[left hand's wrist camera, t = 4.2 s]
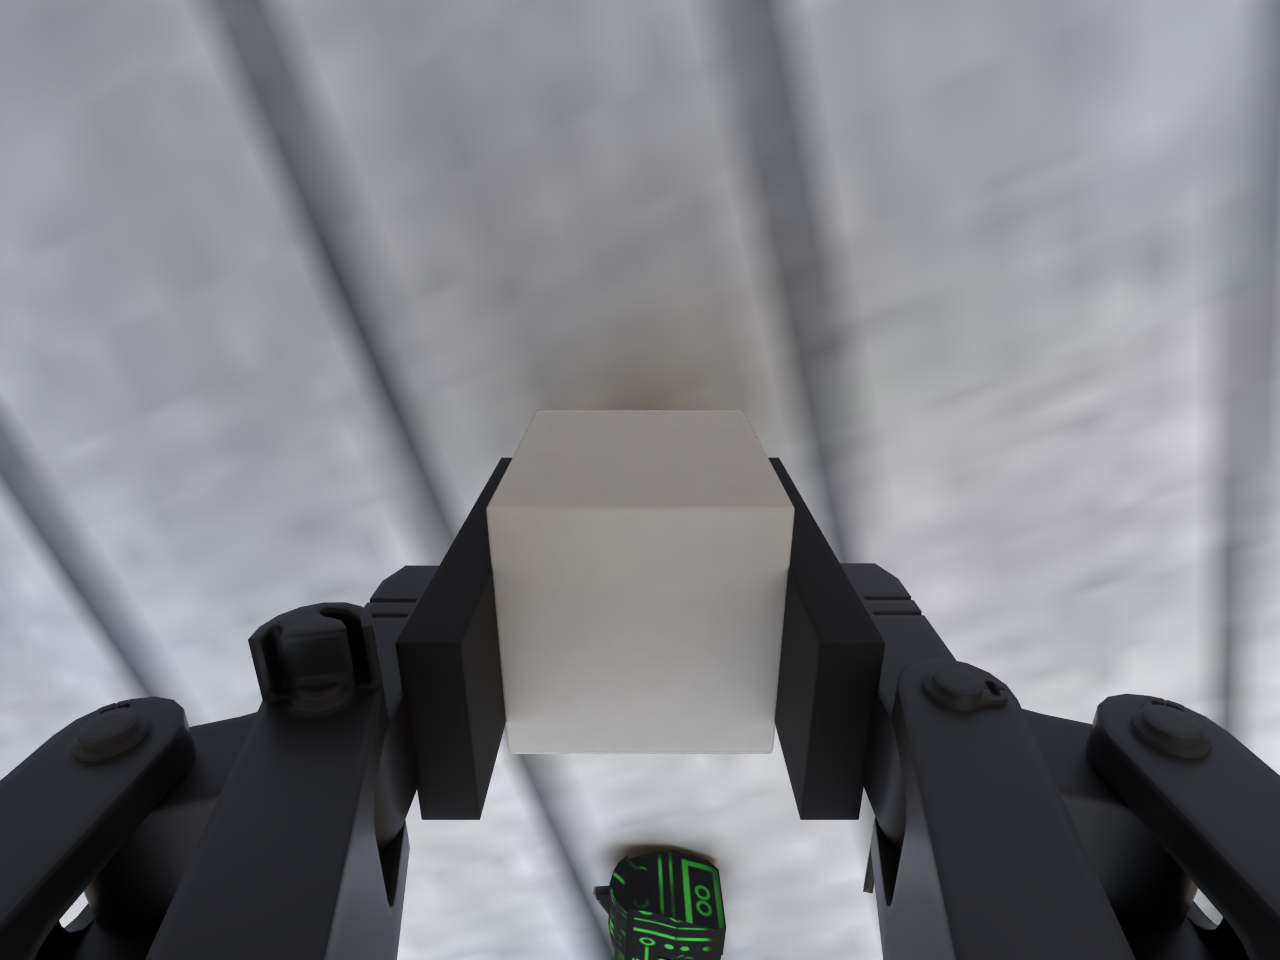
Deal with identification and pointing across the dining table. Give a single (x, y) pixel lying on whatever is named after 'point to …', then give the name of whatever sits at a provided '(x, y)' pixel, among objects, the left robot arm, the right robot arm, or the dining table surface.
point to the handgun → (664, 908)
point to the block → (640, 584)
